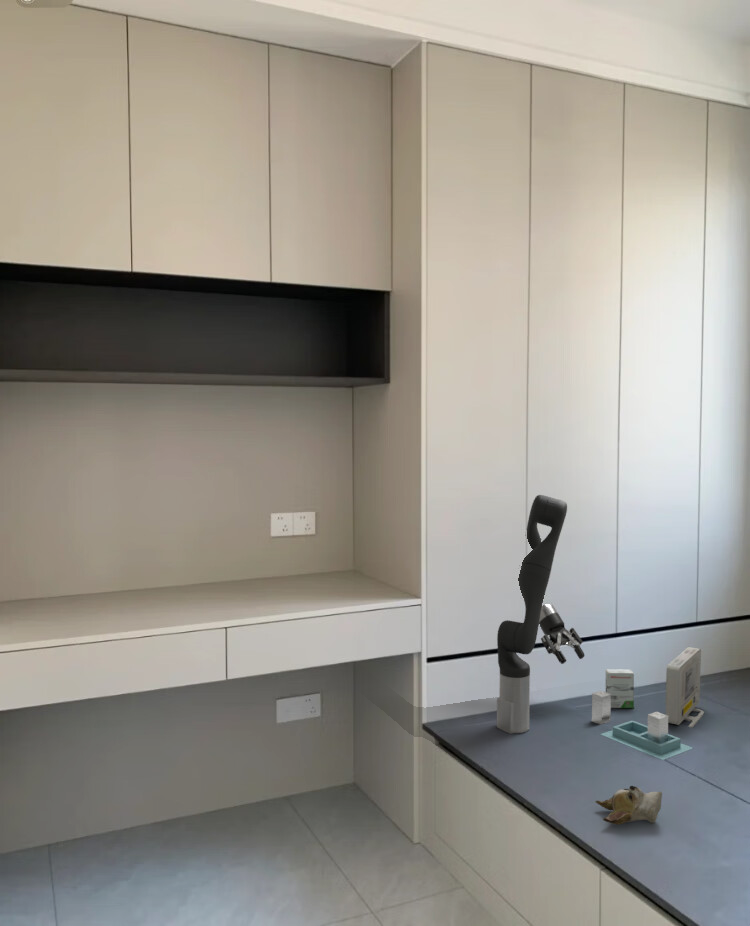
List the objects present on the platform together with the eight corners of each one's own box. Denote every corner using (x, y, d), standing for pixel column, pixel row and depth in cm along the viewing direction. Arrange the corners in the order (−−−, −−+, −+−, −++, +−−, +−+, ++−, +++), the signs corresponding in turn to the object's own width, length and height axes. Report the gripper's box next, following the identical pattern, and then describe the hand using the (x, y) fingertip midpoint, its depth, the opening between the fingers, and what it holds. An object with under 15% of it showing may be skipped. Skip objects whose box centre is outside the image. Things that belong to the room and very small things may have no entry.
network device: (680, 703, 279) (682, 644, 278) (708, 709, 274) (709, 649, 273) (657, 727, 259) (659, 664, 257) (686, 734, 254) (688, 669, 252)
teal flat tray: (662, 765, 232) (662, 751, 232) (600, 739, 250) (600, 726, 250) (693, 753, 240) (693, 739, 240) (630, 728, 258) (630, 716, 258)
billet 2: (658, 749, 239) (659, 718, 238) (647, 744, 242) (647, 714, 241) (667, 746, 241) (668, 715, 240) (655, 741, 244) (656, 711, 244)
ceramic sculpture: (667, 795, 195) (602, 797, 197) (669, 831, 196) (604, 832, 197) (655, 775, 206) (594, 777, 207) (657, 809, 207) (595, 811, 208)
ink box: (631, 703, 280) (631, 668, 279) (634, 708, 275) (634, 673, 274) (604, 702, 280) (605, 667, 280) (607, 707, 276) (607, 672, 275)
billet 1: (601, 725, 261) (602, 697, 260) (591, 721, 264) (592, 693, 263) (610, 722, 263) (610, 694, 262) (600, 718, 266) (600, 690, 266)
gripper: (538, 615, 274) (564, 658, 266) (568, 608, 282) (594, 650, 274) (526, 627, 279) (552, 670, 271) (556, 620, 287) (582, 661, 279)
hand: (573, 660), depth 272 cm, fingers open, 8 cm apart
